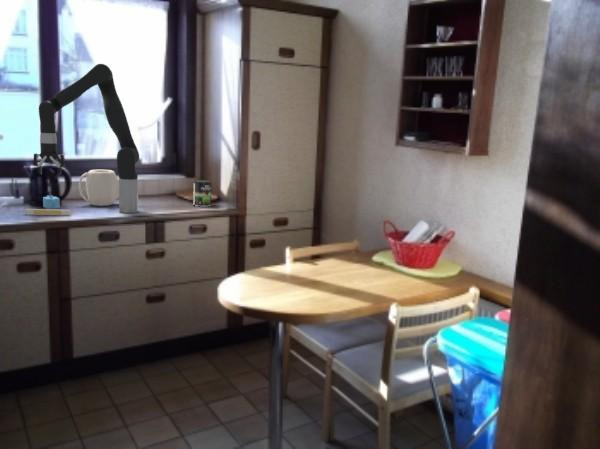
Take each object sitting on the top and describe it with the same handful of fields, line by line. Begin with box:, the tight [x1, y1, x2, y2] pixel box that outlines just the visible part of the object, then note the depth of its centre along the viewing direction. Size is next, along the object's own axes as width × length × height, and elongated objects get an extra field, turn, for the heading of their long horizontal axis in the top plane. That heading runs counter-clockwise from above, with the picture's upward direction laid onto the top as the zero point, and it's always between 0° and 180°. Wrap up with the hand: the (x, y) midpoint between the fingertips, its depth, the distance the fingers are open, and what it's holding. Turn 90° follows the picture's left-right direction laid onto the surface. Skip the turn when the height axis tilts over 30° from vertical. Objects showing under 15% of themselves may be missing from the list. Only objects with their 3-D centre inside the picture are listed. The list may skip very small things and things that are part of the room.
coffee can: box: [192, 179, 213, 208], centre depth 322 cm, size 10×10×14 cm
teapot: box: [42, 195, 61, 210], centre depth 287 cm, size 12×6×8 cm, turn 38°
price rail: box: [24, 208, 71, 216], centre depth 269 cm, size 20×2×2 cm, turn 100°
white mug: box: [77, 169, 119, 207], centre depth 308 cm, size 16×27×19 cm, turn 126°
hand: (49, 174), depth 283 cm, fingers open, 8 cm apart
